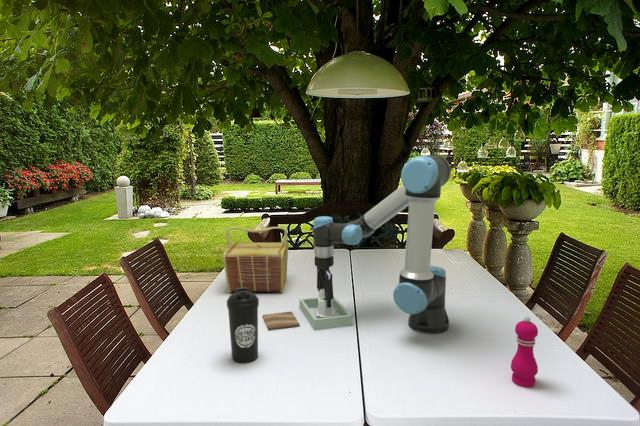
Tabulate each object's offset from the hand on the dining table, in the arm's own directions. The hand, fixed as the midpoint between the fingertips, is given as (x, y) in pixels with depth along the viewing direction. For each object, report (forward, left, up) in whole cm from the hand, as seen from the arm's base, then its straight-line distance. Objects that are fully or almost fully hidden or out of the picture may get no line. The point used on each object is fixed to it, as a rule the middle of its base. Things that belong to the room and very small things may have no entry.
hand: (325, 311), depth 187 cm
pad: (0, +18, -2) cm, 18 cm away
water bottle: (-26, +35, -3) cm, 44 cm away
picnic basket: (+45, +20, -3) cm, 50 cm away
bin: (0, 0, -2) cm, 2 cm away
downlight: (0, 0, -2) cm, 2 cm away
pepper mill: (-66, -41, -3) cm, 77 cm away
